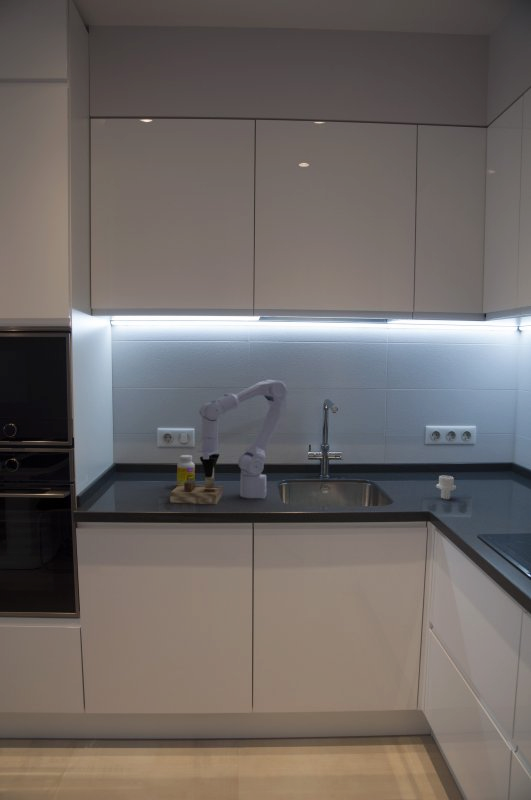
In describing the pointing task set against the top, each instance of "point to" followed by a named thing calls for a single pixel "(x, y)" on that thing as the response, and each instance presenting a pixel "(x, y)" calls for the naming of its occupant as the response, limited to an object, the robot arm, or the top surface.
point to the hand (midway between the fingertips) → (209, 475)
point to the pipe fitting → (446, 486)
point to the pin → (209, 481)
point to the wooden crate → (195, 497)
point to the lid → (195, 488)
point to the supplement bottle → (185, 469)
